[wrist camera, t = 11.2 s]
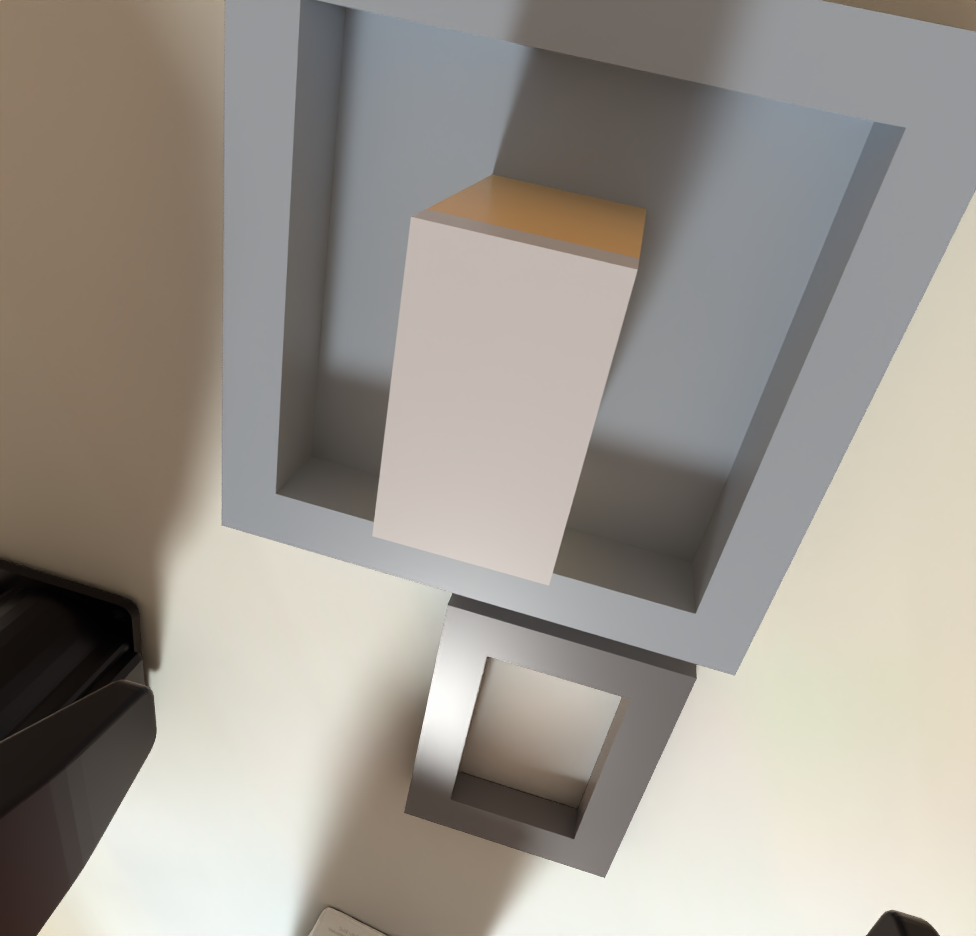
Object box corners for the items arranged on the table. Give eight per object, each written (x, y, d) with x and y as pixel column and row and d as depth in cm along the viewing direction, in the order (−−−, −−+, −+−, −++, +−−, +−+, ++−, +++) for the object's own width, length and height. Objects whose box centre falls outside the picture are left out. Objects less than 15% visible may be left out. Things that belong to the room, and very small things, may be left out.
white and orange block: (451, 413, 19) (372, 536, 14) (492, 174, 16) (410, 216, 11) (580, 447, 19) (548, 585, 14) (646, 208, 16) (637, 269, 11)
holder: (414, 785, 28) (404, 812, 27) (457, 581, 23) (447, 605, 22) (607, 847, 27) (604, 877, 26) (695, 650, 22) (696, 678, 21)
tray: (273, 474, 22) (221, 524, 20) (299, -87, 15) (226, -120, 13) (726, 602, 21) (734, 675, 18) (976, 53, 14) (1047, 46, 12)
